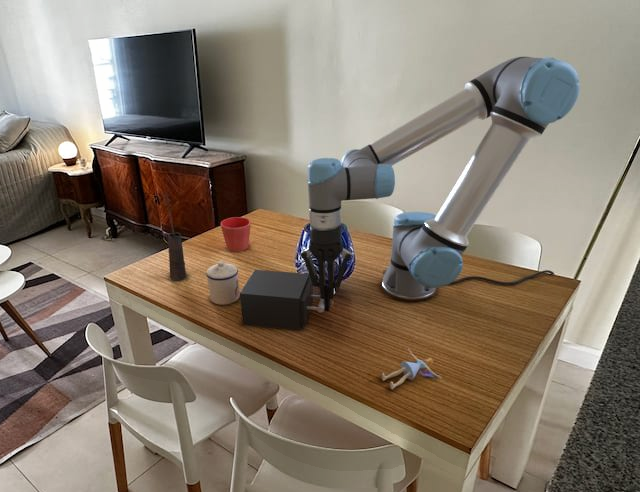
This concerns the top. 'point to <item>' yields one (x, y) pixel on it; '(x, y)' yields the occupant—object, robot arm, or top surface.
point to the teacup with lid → (223, 283)
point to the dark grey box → (273, 299)
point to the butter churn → (175, 252)
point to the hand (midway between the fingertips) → (327, 308)
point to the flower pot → (236, 233)
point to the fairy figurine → (410, 370)
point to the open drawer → (309, 303)
